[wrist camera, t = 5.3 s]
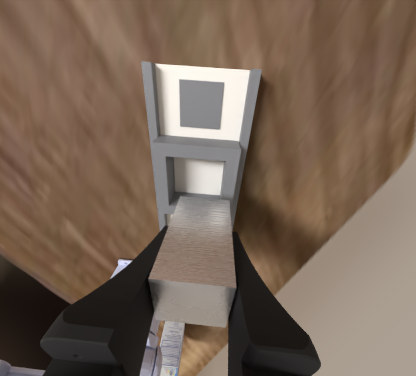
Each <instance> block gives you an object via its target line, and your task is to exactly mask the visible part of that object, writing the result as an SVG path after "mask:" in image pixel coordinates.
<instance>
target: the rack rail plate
mask: <svg viewBox="0 0 416 376" xmlns="http://www.w3.org/2000/svg"><path fill="white" fill-rule="evenodd" d="M141 64H142V73H143V82H144V91H145V100H146V109H147V118H148V127H149V136H150V145H151V154H152V164H153V173H154V182H155V191H156V200H157V209H158V218H159V227H160V231H161V230H162V229H163V227H164V226H165V225H167V226H169V224H170V222H171V219H172V216H173V214H174V211H175V209H176V206H177V203H178V201H179V198H180V196H187V197H198V198H208V199H219V200H229V202H230V215H231V227H232V230H233V225H234V219H235V214H236V208H237V203H238V197H239V192H240V186H241V181H242V175H243V170H244V164H245V159H246V154H247V148H248V143H249V137H250V132H251V126H252V121H253V115H254V110H255V104H256V99H257V93H258V88H259V82H260V77H261V71H262V70H260V69H251V70H237V69H223V68H208V67H193V66H179V65H164V64H154V63H152V62H143V61H141Z"/></svg>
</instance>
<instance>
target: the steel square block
mask: <svg viewBox="0 0 416 376" xmlns="http://www.w3.org/2000/svg"><path fill="white" fill-rule="evenodd" d="M148 279H149V285H150V290H151V296H152V301H153V307H154V312H155V318H156V320H161V321H170V322H179V323H188V324H197V325H206V326H215V327H223V328H226V324H227V321H228V317H229V313H230V310H231V306H232V302H233V299H234V295H235V291H236V277H235V264H234V252H233V239H232V227H231V215H230V202H229V200H219V199H208V198H198V197H187V196H180V198H179V201H178V203H177V206H176V209H175V211H174V214H173V216H172V219H171V222H170V224H169V227H168V229H167V232H166V234H165V237H164V240H163V242H162V245H161V247H160V250H159V252H158V255H157V258H156V260H155V263H154V265H153V268H152V271H151V273H150V276H149V278H148Z"/></svg>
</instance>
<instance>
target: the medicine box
mask: <svg viewBox="0 0 416 376" xmlns="http://www.w3.org/2000/svg"><path fill="white" fill-rule="evenodd" d="M184 330H185V323H179V322H170V321H165V325H164V330H163V334H162V338H161V343H160V347H161V352H162V356H163V360H162V368H161V374H160V376H178V373H179V366H180V359H181V352H182V345H183V338H184Z"/></svg>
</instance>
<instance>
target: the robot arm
mask: <svg viewBox="0 0 416 376" xmlns="http://www.w3.org/2000/svg"><path fill="white" fill-rule="evenodd" d="M168 227H169V226H167V225H165V226H164V227H163V229H162V230H161V231H160V232H159V233H158V235H157V236H156V237H155V238H154V239H153V240H152V242H151V243H150V244H149V245H148V246H147V247H146V248H145V249H144V250H143V251H142V252H141V253H140V254H139V255H138V256H137V257H136V258H135V259H134V260H123V259H120V260H119V261H118V264H119V265H118V267H117V268H116V270H115V272H114V273H113V275H112V277H111V278H110V280H108V281H107V282H106V283H104V284H103V285H101V286H100V287H98V288H97V289H96V290H94V291H93V292H91V293H90V294H88V295H87V296H85V297H83V298H82V299H80V300H78V301H77V302H75V303H74V304H72V305H70V306H69V307H67V308H65V309H64V310H63V312H62V313H61V314H60V315H59V317H58V318H57V319H56V320H55V322H54V323H53V324H52V326H51V327H50V329H49V330H48V331H47V333H46V334H45V336H44V337H43V338H42V340H41V341H40V343H41V347H42V348H43V349H44V350H45V351H46V352H47V353H48V354H49V355H50V356H51V357H52V358H53V360H52V361H51V363H50V364H49V366H48V367H47V370H46V371H44V370H36V369H28V368H19V367H11V365H10V364H9V363H7V362H5V361H2V360H0V376H160V374H161V368H162V360H163V356H162V352H161V347H160V346H157V343H158V339H159V337H157V336H156V334H157V331H158V327H159V323H160V320H156V318H155V312H154V307H153V301H152V296H151V290H150V285H149V279H148V278H149V276H150V273H151V271H152V268H153V265H154V263H155V260H156V258H157V255H158V252H159V250H160V247H161V245H162V242H163V240H164V237H165V234H166V232H167V229H168ZM232 239H233V252H234V264H235V277H236V291H235V295H234V299H233V302H232V306H231V310H230V313H229V317H228V376H312V375H313V374H314V373H315V372H317V371H318V370H319V368H320V366H321V362H320V360H319V357H318V354H317V352H316V350H315V347H314V345H313V343H312V341H311V339H310V337H309V335H308V334H307V333H306V332H305V331H304V330H303V329H302V328H301V327H300V326H299V325H298V324H297V323H296V322H295V321H294V320H293V318H292V317H291V316H290V315H289V314H288V313H287V311H286V310H285V309H284V308H283V307H282V306H281V304H280V303H279V302H278V301H277V299H276V298H275V297H274V296H273V294H272V293H271V292H270V290H269V289H268V288H267V286H266V285H265V283H264V282H263V281H262V279H261V278H260V276H259V275H258V273H257V271H256V270H255V268H254V266H253V265H252V263H251V261H250V259H249V257H248V255H247V253H246V252H245V249H244V247H243V245H242V243H241V241H240V238H239V236H238V233H237V232H232Z"/></svg>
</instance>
